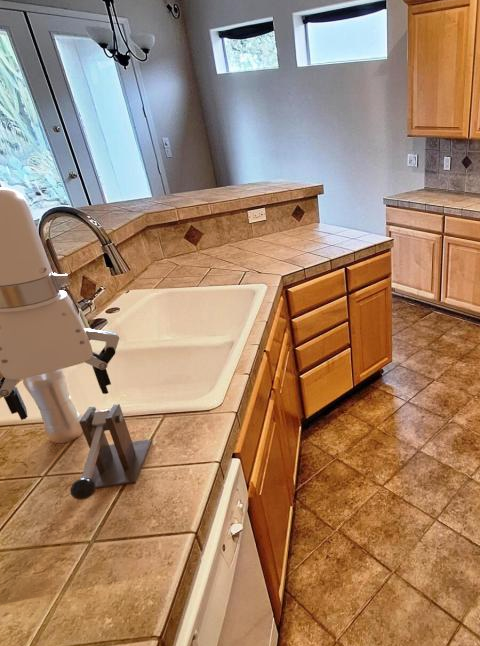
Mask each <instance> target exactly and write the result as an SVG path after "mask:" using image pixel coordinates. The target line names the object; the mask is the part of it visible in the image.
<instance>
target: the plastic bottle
mask: <svg viewBox="0 0 480 646" xmlns="http://www.w3.org/2000/svg"><path fill="white" fill-rule="evenodd" d="M22 383H23V386H24V388H25V389H26V390H27V392H28V393H29V395H30V396H31V398H32V399H33V400H34V403H35V405H36V406H37V409H38V410H39V412H40V416H41V419H42V423H43V429H44V433H45V436H46V437H47V438H48V440H49V441H50V442H53V443H54V444H65V443H70V442H72V441H74V440H76V439H78V438H79V437H80V436H82V434H84V433H83V430H82V428H81V425H80V423H79V421H80V420H81V418H82V417H83V416H81V414H80V413H79V412H78V411H77V407H76V406H75V404H74V403H73V401H72V398H71V396H70V391H69V389H68V384H67V379H66V374H65V371H64V369H59V370H56V371H52V372H48V373H44V374H40V375H37V376H33V377H29V378H25V379H22Z"/></svg>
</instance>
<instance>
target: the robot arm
mask: <svg viewBox="0 0 480 646" xmlns="http://www.w3.org/2000/svg"><path fill="white" fill-rule="evenodd" d="M52 269H53V268H52V266H51V264H50V261H49V258H48V256H47V252H46V250H45V248H44V245H43V242H42V238H41V237H40V234H39V231H38V228H37V226H36V222H35V219H34V217H33V215H32V211H31V209H30V206H29V203H28V201H27V199H26V198H25V196H24V195H23V194H22V193H20V192H19V191H17V190H15V189H11V188H8V187H6V188H5V187H0V374H1V378H0V397H1V398H3V399H4V401H5V403H6V405H7V407H8V409H9V412H10V414H12V415H14V414H18V416H19V418H20V420H21V421H23V420H26V419H27V418H28V410H27V407H26V405H25V402H24V400H23V398H22V396H21V394H20V391H19V389H18V387H17V384H18V382H19V380H23V379H25V378H29V377H33V376H37V375H40V374H44V373H48V372H52V371H56V370H59V369H62V370H64V369H66V368H70V367H74V366H78V365H80V364H83V363H84V364H87V365H90V366H91V367H92V370H93V373H94V375H95V378H96V381H97V383H98V386H99V389H100V391H101V393H102V395H107V394H109V390H108V387H107V386H110V385H112V383H111V379H110V377H109V373H108V371H107V368H108V364H109V363H110V362H111V360H112V359H113V358H114V356H115V354H116V350H117V348H118V345H119V342H120V336H119V335H118V334H117V332H114V331H105V330H99V329H94V328H86V327H85V325H84V323H83V321H82V318H81V316H80V313H79V312H78V309H77V307H76V306H75V304H74V302H73V300H72V298H71V297H70V296H69V293H67V291H65V290H62V287H65V286H66V285H71V281H70V278H69V276H68V274H67V273H65V274H57V273H56V272H54V273H53V270H52ZM91 341H96V342H97V341H99V342H104V343H105V346H104V347H103V348H102V350H100V352H99V353H97V352H95V351H93V347H92V344H91Z"/></svg>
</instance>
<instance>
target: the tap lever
mask: <svg viewBox="0 0 480 646" xmlns="http://www.w3.org/2000/svg"><path fill="white" fill-rule="evenodd" d="M109 412H110V409H105V410H96V411H95V414H94V418H93V421H92V426H93V427H94V428H95V434H94V437H93V440H92V444H91V447H90V448H89V451H88V454H87V458H86V460H85V464H84V468H83V471H82V475H81V478H79V479H76V480H75V481H74V482H73V483H72V485H71V486H70V488H69V493H70V495H71V497H72V498H73V499H75V500H79V501H85V500H87V499H90V498H91V497H92V496H94V494H95V493H96V491H97V489H96V487H97V486H96V483H95V481H94V480H93V479H92V475H93V471H94V468H95V464H96V460H97V457H98V453H99V450H100V446H101V442H102V439H103V435H104V433H105V432H106V431H109V428H108V425H107V422H106V419H105V418H106V417H107V415H108V413H109Z"/></svg>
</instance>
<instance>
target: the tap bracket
mask: <svg viewBox="0 0 480 646" xmlns="http://www.w3.org/2000/svg"><path fill="white" fill-rule="evenodd" d="M95 411H97V408H96V406H89V407H88V408H87V410H86V411H85V412H84V414H83V415H82V416H81V417H82V418H81V420H80V421H79V423H80V425H81V428H82V430H83V433H82V434H83V435H84V438H85V440H86V443H87V446H88V448H89V449H90V447H91V444H92V440H93V437H94V434H95V428H94V427H93V426H92V421H93V418H94V414H95ZM109 411H110V412H109V413H108V415H107V417H106V418H105V419H106V422H107V425H108V428H109V430H108V431H109V433H110V436H111V439H112V442H113V443H112V444H111V443H110V444H109V441H108V439H107V436H106V433H105V432H104V435H103V439H102V442H101V446H100V450H99V453H98V457H97V460H96V464H95V468H94V471H93V475H92V479H93V480H94V481H95V483H96V486H97V487H96V490H101V489H108V488H114V487H115V488H116V487H121V486H128V485H135V484H136V483H137V481H138V479H139V477H140V473H141V471H142V470H143V469H142V468H143V466H144V464H145V462H146V459H147V456H148V454H149V453H150V450H151V447H152V444H153V442H154V441H153V438H149V439H142V440H135V441H133V440H132V438H131V435H130V432H129V429H128V428H129V427H128V426H127V423H126V420H125V416H124V413H123V411H122V407H121V404H120V403H117V404H113V405H112V406H111V408H110V409H109Z"/></svg>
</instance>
